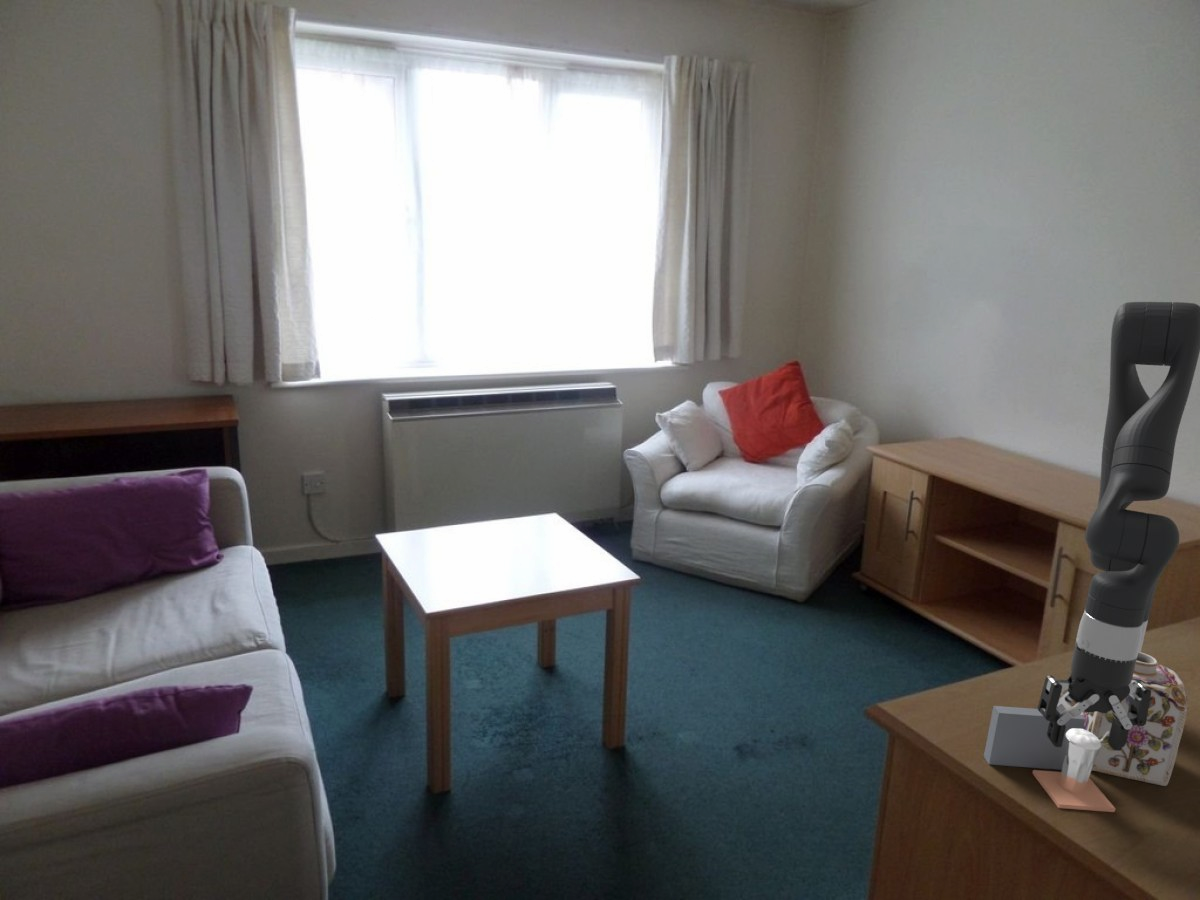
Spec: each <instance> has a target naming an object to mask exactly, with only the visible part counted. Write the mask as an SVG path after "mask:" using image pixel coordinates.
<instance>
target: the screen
mask: <svg viewBox="0 0 1200 900" xmlns="http://www.w3.org/2000/svg"><path fill="white" fill-rule="evenodd" d="M1063 712H1064V711H1063ZM1063 712H1062V713H1063ZM1062 713H1061V714H1062ZM1049 722H1050V721H1047V720H1046V719H1045V718H1044V716H1043V715H1042V714H1041V713H1040V712H1039V711H1038V709H1037V708H1030V707H1029V708H1028V707H1018V706H1017V707H1014V706H1012V707H1011V706H1004V705H1003V706H1002V705H1001V706H1000V705H993V708H992V711H991V717H990V723H989V728H988V732H987V737H986V744H985V749H984V753H983V758H984V759H985V761H986V762H987V764H988V765H993V766H1003V767H1004V766H1007V767H1020V768H1032V769H1046V770H1060V771H1061V770H1062V763H1063V756H1064V745H1065V736H1066V732H1067V731H1068V730H1070V729H1072V728H1078V729H1083V727H1084V722H1085V718H1084V717H1083V716H1082V715H1081V714H1080V715H1079V716H1077V717H1072V718H1071V719H1070V720H1069V721H1068V722H1066V723H1065V724H1064V725H1065V726H1066V729H1065V733H1064V738H1063V743H1062V747H1055V746H1054V745H1053V744H1052V742H1051V741H1050V739H1049V738H1048V737H1047V731H1048V727H1049Z"/></svg>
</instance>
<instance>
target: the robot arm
mask: <svg viewBox="0 0 1200 900" xmlns="http://www.w3.org/2000/svg"><path fill="white" fill-rule="evenodd" d="M1110 335H1111V337H1110V364H1109V365H1110V366H1109V370H1110V371H1109V372H1110V373H1109V398H1108V405H1107V406H1108V407H1107V414H1106V420H1105V425H1104V433H1103V441H1102V451H1101V464H1100V465H1101V467H1100V483H1099V493H1098V495H1099V496H1098V502H1097V507H1096V509H1095V511H1094V512H1093V515H1092V516H1091V518H1090V519H1089V522H1088V524H1087V526H1086V528H1085V534H1084V535H1085V536H1084V537H1085V542H1086V543H1085V544H1086V545H1087V547H1088V549H1089V558H1090V559H1089V560H1090V561H1091V564H1092V565H1093V567H1095V568H1096V569H1098V570H1100V571H1101V572H1096V573H1095V574H1094V575H1093V576H1092V578H1091V580H1090V584H1089V587H1088V594H1087V596H1086V603H1085V607H1084V610H1083V611H1084V612H1083V614H1082V616H1081V619H1080V621H1079V625H1078V630H1077V633H1076V639H1075V643H1074V649H1073V653H1072V658H1071V663H1070V675H1068V677H1067V678H1066V679H1059V678H1058V679H1057V678H1055V677H1054V676H1053V675H1047V676H1046V677H1045V679H1044V684H1043V686H1042V690H1041V693H1040V698H1039V701H1038V704H1037V708H1036V709H1038V711H1039V712H1040V713H1041V714H1042V715H1043V716H1044V718H1045V719H1046V720H1047V721H1050V722H1049V727H1048V731H1047V737H1048V738H1049V739H1050V741H1051V742H1052V744H1053V745H1054V746H1055V747H1062V743H1063V738H1064V733H1065V729H1066V726H1065V725H1064V724H1065V723H1066V722H1068V721H1069V720H1070V719H1071V718H1072V717H1077V716H1079V715H1080V714H1081V713H1082V712H1083V711H1085V712H1096V711H1097V712H1100V713H1108V711H1111V713H1112V715H1113V716H1114V718H1115V719H1116V721H1112V726H1111V730H1110V734H1109V739H1108V743H1109V745H1110V746H1111V747H1112V748H1113V749H1114V750H1115V751H1121V749H1122V747H1124V746H1125V744H1126V740H1127V736H1128V732H1129V729H1131V728H1132V726H1135V725H1139V726H1144V725H1145V724H1146V721H1147V715H1148V709H1149V703H1150V697H1151V691H1150V690H1149V689H1148V688H1147V687H1146V686H1145V685H1144V684H1142V683H1141V682H1140V681H1134V682H1133V684H1130V683H1131V681H1132V677H1133V673H1134V669H1135V664H1136V660H1137V655H1138V652H1142V648H1143V643H1144V640H1145V639H1144V638H1145V635H1146V631H1147V627H1148V622H1149V618H1150V615H1151V609H1152V606H1153V602H1154V598H1155V597H1154V596H1155V593H1156V588H1157V586H1158V582H1159V579H1160V576H1161V575H1162V573H1163V572H1164V570H1165V569H1166V567H1167V566H1168V565H1169V563H1170V562H1171V560H1172V558H1173V557H1174V555H1175V553H1176V551H1177V549H1178V547H1179V543H1180V531H1179V529H1178V526H1177V524H1176V523H1175V521H1173V520H1172V519H1171V518H1170V517H1168V516H1165V515H1161V514H1155V513H1150V512H1148V513H1147V512H1143V511H1137V510H1132V509H1127V508H1128V507H1129V506H1130V505H1132V503H1133V502H1145V501H1146V502H1148V501H1157V500H1161V499H1162V498H1164V497H1165V496H1166V495H1167V494H1168V491H1169V488H1170V484H1171V475H1172V470H1173V469H1172V468H1173V463H1174V462H1173V461H1174V454H1175V446H1176V443H1177V436H1178V432H1179V430H1180V429H1179V428H1180V425H1181V422H1182V421H1181V420H1182V418H1183V415H1184V413H1185V412H1184V411H1185V409H1186V405H1187V401H1188V398H1189V394H1190V391H1191V388H1192V384H1193V380H1194V377H1195V372H1196V368H1197V365H1198V361H1199V360H1198V359H1199V357H1200V305H1199V304H1198V303H1193V302H1184V301H1183V302H1182V301H1177V302H1175V301H1174V302H1172V301H1128V302H1125V303H1123V304H1122V305H1120V306H1119V307H1118V309H1117V310H1116V312H1115V315H1114V317H1113V322H1112V327H1111V334H1110ZM1136 365H1140V366H1141V365H1142V366H1143V365H1144V366H1160V367H1161V366H1164V367H1169V369H1168V372H1167V375H1166V377H1165V379H1164V381H1163V382H1162V384H1161V385H1160V387H1159V388H1158V389H1157V390H1156V392H1154V394H1153V395H1152V396H1151V397H1150V396H1149V395H1148V393H1147V391H1146V390H1145V388H1144V387H1143V385H1142V383H1141V380H1140V377H1139V374H1138V371H1137V367H1136ZM1065 691H1067V692H1065ZM1064 692H1065V693H1064ZM1128 695H1130V696H1131V697H1130V703H1129V709H1128V713H1126V712H1125V710H1124V708H1123V707H1122V705H1121V703H1120V702H1122V701H1123V700H1124V699H1125V698H1126V697H1127V696H1128ZM1072 702H1074V705H1073V706H1072V705H1071V703H1072ZM1075 703H1076V705H1075ZM1063 711H1064V712H1063ZM1062 712H1063V713H1062ZM1061 713H1062V714H1061Z"/></svg>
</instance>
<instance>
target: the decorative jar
mask: <svg viewBox="0 0 1200 900" xmlns="http://www.w3.org/2000/svg"><path fill="white" fill-rule="evenodd" d="M1134 681H1140V682H1141V683H1142V684H1144V685H1145V686H1146V687H1147V688H1148V689H1149V690H1150V691H1151V697H1150V703H1149V709H1148V715H1147V721H1146V724H1145V725H1144V726H1139V725H1135V726H1132V728H1131V729H1129V732H1128V736H1127V740H1126V744H1125V746H1124V747H1122V749H1121V751H1115V750H1114V749H1113V748H1112V747H1111V746H1110V745H1109V743H1108V739H1109V734H1110V730H1111V726H1112V721H1116V719H1115V718H1114V716H1113V715H1112V713H1111V711H1108V713H1100V712H1097V711H1096V712H1085V711H1083V712H1082V713H1081V715H1082V716H1083V717H1084V718H1085V722H1084V727H1083V729H1084V730H1087V731H1089V732H1091V733H1093V734H1094V735H1095V736H1096V737H1097V738H1098V739H1099V740H1100V739H1101V738H1102V737H1103V736H1104V735H1105V733H1106V732H1107V731H1109V733H1108V735H1107V736H1106V737H1105V738H1104V739H1103V740H1102V742H1101V747H1100V750H1099V752H1098V755H1097V757H1096V760H1095V762H1094V765H1093V768H1092V770H1091V772H1092V771H1093V772H1098V773H1101V774H1105V775H1106V774H1107V775H1109V776H1110V775H1111V776H1115V777H1118V778H1125V779H1129V780H1135V781H1139V782H1143V783H1148V784H1153V785H1158V786H1161V787H1167V786H1168V784H1169V783H1170V779H1171V777H1172V773H1173V769H1174V767H1175V766H1174V765H1175V763H1176V759H1177V755H1178V750H1179V747H1180V746H1179V745H1180V743H1181V739H1182V735H1183V733H1184V727H1185V723H1186V719H1187V715H1188V714H1187V713H1188V710H1189V706H1188V698H1187V696H1186V695H1187V694H1186V689H1185V684H1184V682H1183V681H1182V679H1181V678H1180V676H1179V675H1178V674H1177V673H1176V672H1175V671H1174V670H1172V669H1170V668H1169V667H1167V666H1164V665H1163V664H1160V663H1158V661H1157V659H1156V658H1155V657H1153V656H1151V655H1150V654H1147V653H1145V652H1142V651H1141V652H1138V655H1137V660H1136V664H1135V669H1134V673H1133V677H1132V681H1131V683H1130V684H1133V682H1134ZM1130 697H1131V696H1130V695H1128V696H1127V697H1126V698H1125V699H1124V700H1123V701H1122V702H1120V703H1121V705H1122V707H1123V708H1124V710H1125V712H1126V713H1128V709H1129V703H1130ZM1074 705H1076V703H1075V702H1074Z"/></svg>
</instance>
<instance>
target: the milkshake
mask: <svg viewBox="0 0 1200 900" xmlns="http://www.w3.org/2000/svg"><path fill="white" fill-rule="evenodd" d="M1108 733H1109V731H1107V732H1106V733H1105V735H1104V736H1103V737H1102V738H1101V739H1100V740H1099V739H1098V738H1097V737H1096V736H1095V735H1094V734H1093V733H1091V732H1089V731H1087V730H1084V729H1078V728H1072V729H1070V730H1068V731H1067V732H1066V736H1065V745H1064V756H1063V763H1062V770H1060V772H1061V776H1060V785H1061V786H1062V787H1063V788H1064V789H1066V790H1068V791H1070V792H1072V793H1078V794H1080V793H1083V792H1084V790H1085V787H1086V785H1087V782H1088V779H1089V778H1090V776H1091V772H1092V768H1093V765H1094V762H1095V760H1096V757H1097V755H1098V752H1099V750H1100V747H1101V742H1102V740H1103V739H1104V738H1105V737H1106V736H1107V735H1108Z"/></svg>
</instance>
